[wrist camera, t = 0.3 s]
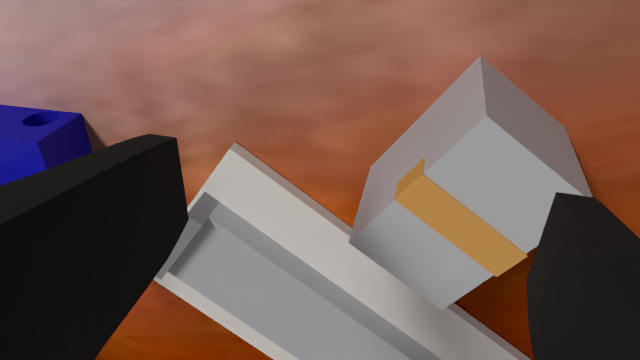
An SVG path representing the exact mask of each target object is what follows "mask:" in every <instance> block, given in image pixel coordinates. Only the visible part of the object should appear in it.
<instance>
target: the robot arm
mask: <svg viewBox="0 0 640 360" xmlns="http://www.w3.org/2000/svg"><path fill="white" fill-rule="evenodd" d="M188 220H189V217H188V210H187V203H186V197H185V190H184V184H183V177H182V171H181V164H180V158H179V151H178V144H177V138H174V137H167V136H160V135H153V134H147V135H143V136H139V137H135V138H132V139H129V140H126V141H123V142H120V143H117V144H114V145H111V146H108V147H106V148H103V149H100V150H98V151H95V152H92V153H90V154H87V155H84V156H82V157H79V158H76V159H74V160H71V161H68V162H66V163H63V164H60V165H58V166H55V167H52V168H50V169H47V170H44V171H41V172H38V173H36V174H33V175H30V176H27V177H24V178H21V179H18V180H15V181H12V182H9V183H7V184H4V185H1V186H0V360H95V358H96V357H97V355H98V354H99V352H100V351H101V349H102V348H103V346H104V345H105V344H106V342H107V341H108V340H109V338H110V337H111V336H112V334H113V333H114V332H115V330H116V329H117V328H118V326H119V325H120V324H121V322H122V321H123V319H124V318H125V317H126V315H127V314H128V313H129V311H130V310H131V309H132V307H133V306H134V305H135V303H136V302H137V301H138V299H139V298H140V297H141V295H142V294H143V293H144V291H145V290H146V289H147V287H148V286H149V284H150V283H151V282H152V280H153V279H154V278H155V276H156V275H157V274H158V272H159V271H160V269H161V268H162V267H163V265H164V264H165V262H166V261H167V259H168V258H169V256H170V254H171V253H172V251H173V249H174V247H175V245H176V244H177V242H178V240H179V238H180V236H181V234H182V232H183V230H184V228H185V226H186V224H187V222H188ZM527 299H528V321H529V332H530V338H531V344H532V350H533V356H534V360H640V239H639V238H638V237H637V236H636V235H635V234H634V233H633V232H632V231H631V230H630V229H629V228H628V227H627V226H626V225H625V224H623V223H622V222H621V221H620V220H619V219H618V218H617V217H616V216H615V215H614V214H613V213H612V212H611V211H610V210H608V209H607V208H606V207H605V206H604V205H603V204H602V203H600V202H599V201H598V200H597V199H596V198H594V197H588V196H581V195H574V194H567V193H560V192H556V194H555V197H554V200H553V203H552V206H551V209H550V212H549V215H548V218H547V221H546V224H545V226H544V229H543V232H542V235H541V238H540V241H539V244H538V247H537V250H536V253H535V256H534V259H533V262H532V265H531V268H530V271H529V274H528V277H527Z"/></svg>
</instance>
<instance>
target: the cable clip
mask: <svg viewBox="0 0 640 360" xmlns="http://www.w3.org/2000/svg"><path fill="white" fill-rule="evenodd" d="M90 153H92V149H91V145H90V142H89V139H88V135H87V132H86V128H85V125H84V121H83V118H82V114H81V113H72V112H62V111H53V110H44V109H34V108H25V107H16V106H7V105H0V186H1V185H4V184H7V183H9V182H12V181H15V180H18V179H21V178H24V177H27V176H30V175H33V174H36V173H38V172H41V171H44V170H47V169H50V168H52V167H55V166H58V165H60V164H63V163H66V162H68V161H71V160H74V159H76V158H79V157H82V156H84V155H87V154H90Z"/></svg>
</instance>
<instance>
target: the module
mask: <svg viewBox="0 0 640 360" xmlns="http://www.w3.org/2000/svg"><path fill="white" fill-rule="evenodd" d="M556 192H560V193H567V194H574V195H581V196H588V197H593V196H592V194H591V191H590V189H589V187H588V184H587V182H586V179H585V177H584V174H583V172H582V169H581V167H580V164H579V162H578V159H577V157H576V154H575V152H574V149H573V147H572V144H571V142H570V139H569V137H568V134H567V132H566V129H565V127H564V126H563V125H561V124H560V123H559V122H558V121H557V120H556V119H554V118H553V117H552V116H551V115H550V114H548V113H547V112H546V111H545V110H544V109H542V108H541V107H540V106H539V105H538V104H537V103H535V102H534V101H533V100H532V99H531V98H529V97H528V96H527V95H526V94H525V93H524V92H522V91H521V90H520V89H519V88H518V87H516V86H515V85H514V84H513V83H512V82H511V81H509V80H508V79H507V78H506V77H505V76H503V75H502V74H501V73H500V72H499V71H497V70H496V69H495V68H494V67H493V66H492V65H490V64H489V63H488V62H487V61H486V60H484V59H483V58H482V57H481V56H480V57H479V58H478V59H477V60H476V61H475V62H474V63H473V64H472V65H471V66H470V67H469V68H468V69H467V70H466V71H465V72H464V73H463V74H462V75H461V76H460V77H459V78H458V79H457V80H456V81H455V82H454V83H453V84H452V85H451V86H450V87H449V88H448V89H447V90H446V91H445V92H444V93H443V94H442V95H441V96H440V97H439V98H438V99H437V100H436V101H435V102H434V103H433V104H432V105H431V106H430V107H429V108H428V109H427V110H426V111H425V112H424V113H423V114H422V115H421V116H420V117H419V118H418V119H417V120H416V121H415V122H414V124H413V125H412V126H411V127H410V128H409V129H408V130H407V131H406V132H405V133H404V134H403V135H402V136H401V137H400V138H399V139H398V140H397V141H396V142H395V143H394V144H393V145H392V146H391V147H390V148H389V149H388V150H387V151H386V152H385V153H384V154H383V155H382V156H381V157H380V158H379V159H378V160H377V161H376V162H375V163H374V164H373V165H372V166H371V168H370V171H369V174H368V178H367V181H366V185H365V188H364V191H363V195H362V198H361V201H360V205H359V208H358V212H357V215H356V218H355V222H354V225H353V228H352V232H351V235H350V239H349V242H348V243H349V244H351V245H352V246H353V247H355V248H356V249H358V250H359V251H360V252H362V253H363V254H364V255H366V256H367V257H368V258H370V259H371V260H373V261H374V262H375V263H377V264H378V265H379V266H381V267H382V268H384V269H385V270H386V271H388V272H389V273H390V274H392V275H393V276H395V277H396V278H397V279H399V280H400V281H401V282H403V283H404V284H406V285H407V286H408V287H410V288H411V289H412V290H414V291H415V292H416V293H418V294H419V295H421V296H422V297H423V298H425V299H426V300H427V301H429V302H430V303H432V304H433V305H434V306H436V307H437V308H438V309H440V310H443V309H444V308H446V307H447V306H449V305H450V304H452V303H453V302H455V301H456V300H458V299H459V298H461V297H462V296H464V295H465V294H467V293H468V292H470V291H471V290H473V289H474V288H476V287H477V286H479V285H480V284H481V283H483V282H484V281H486V280H487V279H489V278H490V277H492V276H493V275H494V276H496V277H498V276H499V275H501V274H502V273H504V272H505V271H507V270H508V269H510V268H511V267H513V266H514V265H516V264H517V263H519V262H520V261H522V260H523V259H525V258H526V257H528V256H527V253H528V252H529V251H530V250H532V249H533V248H535V247H536V246H538V244H539V241H540V238H541V235H542V232H543V229H544V226H545V224H546V221H547V218H548V215H549V212H550V209H551V206H552V203H553V200H554V197H555V194H556Z"/></svg>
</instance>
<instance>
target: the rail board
mask: <svg viewBox="0 0 640 360" xmlns="http://www.w3.org/2000/svg"><path fill="white" fill-rule="evenodd" d="M187 210H188V217H189V220H188V222H187V224H186V226H185V228H184V230H183V232H182V234H181V236H180V238H179V240H178V242H177V244H176V245H175V247H174V249H173V251H172V253H171V254H170V256H169V258H168V259H167V261H166V262H165V264H164V265H163V267H162V268H161V269H160V271H159V272H158V274H157V275H156V276H155V278H154V279H153V280H155V281H156V282H158V283H159V284H161V285H162V286H164V287H165V288H167V289H168V290H170V291H171V292H173V293H174V294H176V295H177V296H179V297H180V298H182V299H183V300H185V301H186V302H188V303H189V304H191V305H192V306H194V307H195V308H197V309H198V310H200V311H201V312H203V313H204V314H206V315H207V316H209V317H210V318H212V319H213V320H215V321H216V322H218V323H219V324H221V325H222V326H224V327H225V328H227V329H228V330H230V331H231V332H233V333H234V334H236V335H237V336H239V337H241V338H242V339H244V340H245V341H247V342H248V343H250V344H251V345H253V346H254V347H256V348H257V349H259V350H260V351H262V352H263V353H265V354H266V355H268V356H269V357H271V358H272V359H274V360H531V359H530V358H528V357H527V356H526V355H524V354H523V353H521V352H520V351H519V350H517V349H516V348H515V347H513V346H512V345H511V344H509V343H508V342H506V341H505V340H504V339H502V338H501V337H500V336H498V335H497V334H496V333H494V332H493V331H492V330H490V329H489V328H487V327H486V326H485V325H483V324H482V323H481V322H479V321H478V320H477V319H475V318H474V317H472V316H471V315H470V314H468V313H467V312H466V311H464V310H463V309H462V308H460V307H459V306H458V305H456V304H455V303H452V304H450V305H449V306H447V307H446V308H444V309H443V310H440V309H438V308H437V307H436V306H434V305H433V304H432V303H430V302H429V301H427V300H426V299H425V298H423V297H422V296H421V295H419V294H418V293H416V292H415V291H414V290H412V289H411V288H410V287H408V286H407V285H406V284H404V283H403V282H401V281H400V280H399V279H397V278H396V277H395V276H393V275H392V274H390V273H389V272H388V271H386V270H385V269H384V268H382V267H381V266H379V265H378V264H377V263H375V262H374V261H373V260H371V259H370V258H368V257H367V256H366V255H364V254H363V253H362V252H360V251H359V250H358V249H356V248H355V247H353V246H352V245H351V244H349V243H348V242H349V239H350V235H351V232H352V228H351V227H350V226H349V225H347V224H346V223H345V222H343V221H342V220H341V219H339V218H338V217H337V216H335V215H334V214H332V213H331V212H330V211H328V210H327V209H326V208H324V207H323V206H322V205H320V204H319V203H317V202H316V201H315V200H313V199H312V198H311V197H309V196H308V195H307V194H305V193H304V192H303V191H301V190H300V189H298V188H297V187H296V186H294V185H293V184H292V183H290V182H289V181H288V180H286V179H285V178H283V177H282V176H281V175H279V174H278V173H277V172H275V171H274V170H273V169H271V168H270V167H269V166H267V165H266V164H264V163H263V162H262V161H260V160H259V159H258V158H256V157H255V156H254V155H252V154H251V153H249V152H248V151H247V150H245V149H244V148H243V147H241V146H240V145H239V144H237V143H236V142H235V143H234V144H233V145H232V146H231V148H230V149H229V150H228V152H227V153H226V154H225V156H224V157H223V159H222V160H221V161H220V163H219V164H218V166H217V167H216V168H215V170H214V171H213V173H212V174H211V175H210V177H209V178H208V180H207V181H206V183H205V184H204V185H203V187H202V188H201V190H200V191H199V192H198V194H197V195H196V197H195V198H194V199H193V201H192V202H191V204H190V205H189V206H188V208H187Z"/></svg>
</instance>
